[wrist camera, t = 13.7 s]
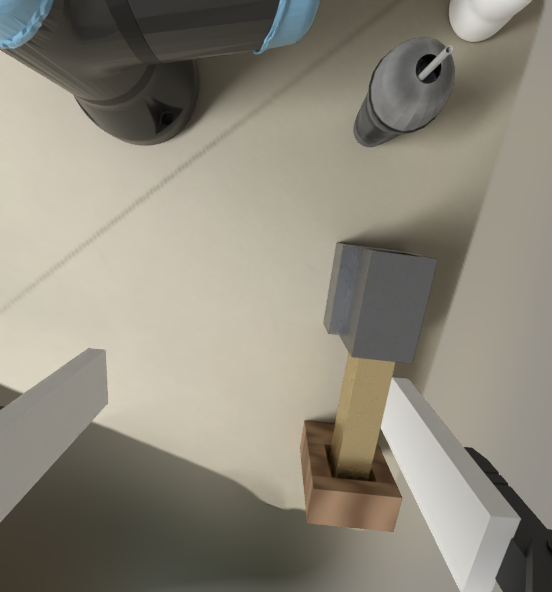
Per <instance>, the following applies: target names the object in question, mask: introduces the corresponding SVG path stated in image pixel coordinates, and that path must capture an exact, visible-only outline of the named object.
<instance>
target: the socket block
mask: <svg viewBox="0 0 552 592" xmlns="http://www.w3.org/2000/svg"><path fill="white" fill-rule="evenodd" d="M334 427H335V424H330V423H321V422H312V421H304V427H303V433H302V439H301V445H300V453H301V463H302V473H303V484H304V494H305V504H306V514H307V523H311V524H320V525H330V526H340V527H350V528H360V529H370V530H380V531H390V532H394V528H395V524H396V520H397V517H398V513H399V509H400V505H401V501H402V496H401V494H400V491H399V489H398V487H397V485H396V483H395V480H394V478H393V476H392V474H391V472H390V469H389V467H388V465H387V463H386V461H385V458H384V456H383V454H382V452H381V449H380V447H379V445H378V443H377V445H376V449H375V453H374V458H373V462H372V466H371V471H370V475H369V479H368V481H360V480H350V479H341V478H331V475H330V470H329V465H328V458H329V453H330V448H331V443H332V437H333V432H334Z"/></svg>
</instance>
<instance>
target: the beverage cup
mask: <svg viewBox="0 0 552 592" xmlns="http://www.w3.org/2000/svg"><path fill="white" fill-rule="evenodd" d="M452 50H453V47H452V46H451V45H449V46H447V47H445V46H444V45H443V44H442V43H440V42H439V41H437V40H434V39H431V38H427V37H423V38H413V39H411V40H408V41H406V42H404V43H402V44H399V45H398V46H397V47H395V48H394V49H393V50H392V51H390V52H389V53H388V54H387V55H386V56H385V57H384V58H382V59H381V60H380V62H379V63H378V65H377V67H376V68H375V70H374V72H373V74H372V77H371V81H370V84H369V90H368V93H367V95H366V98H365V100H364V102H363V104H362V106H361V108H360V110H359V112H358V115H357V117H356V120H355V123H354V135H355V138H356V140H357V141H358V143H360V144H361V145H363V146H366V147H374V146H376V145H379V144H382V143H384V142H386V141H388V140H390V139H392V138H394V137H396V136H398V135H400V134H404V133H410V132H414V131H417V130H419V129H422V128H424V127H425V126H426V125H428V124H429V123H430V122H431V121H432V120H434V119H435V117H436V116H437V114H438V113H439V112H440V111H441V109H442V108H443V106H444V105H445V103H446V102H447V100H448V99H449V96H450V93H451V90H452V87H453V84H454V74H455V67H454V62H453V58H452V56H451V53H452Z"/></svg>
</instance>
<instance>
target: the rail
mask: <svg viewBox="0 0 552 592" xmlns="http://www.w3.org/2000/svg"><path fill="white" fill-rule="evenodd" d="M394 367H395V362H390V361H381V360H372V359H363V358H354V357H351V355H350V354H349V352H348V358H347V363H346V368H345V374H344V379H343V384H342V390H341V395H340V400H339V405H338V411H337V416H336V421H335V427H334V432H333V437H332V443H331V448H330V453H329V458H328V465H329V470H330V475H331V478H341V479H350V480H360V481H368V479H369V475H370V471H371V466H372V462H373V458H374V453H375V449H376V445H377V440H378V436H379V432H380V427H381V423H382V419H383V414H384V410H385V406H386V401H387V397H388V393H389V388H390V384H391V380H392V375H393V371H394Z"/></svg>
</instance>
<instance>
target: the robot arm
mask: <svg viewBox="0 0 552 592" xmlns="http://www.w3.org/2000/svg"><path fill="white" fill-rule="evenodd" d="M319 3H320V0H0V50H2V51H3V52H5V53H6V54H8V55H10V56H11V57H13V58H15V59H16V60H18V61H20V62H21V63H23V64H25V65H26V66H28V67H29V68H31V69H33V70H34V71H36V72H38V73H39V74H41V75H43V76H44V77H46V78H48V79H49V80H51V81H52V82H54V83H56V84H57V85H59V86H61V87H62V88H64V89H65V90H67V91H69V92H70V93H72V94H73V95H74V97H75V99H76V100H77V102H78V104H79V105H80V107H81V108H82V110H83V111H84V112H85V114H86V115H87V116H88V117H89V118H90V119H91V120H92V121H93V122H94V123H95V124H96V125H97V126H98V127H100V128H101V129H102V130H104V131H105V132H107V133H108V134H110V135H112V136H114V137H116V138H118V139H120V140H122V141H124V142H127V143H131V144H135V145H154V144H158V143H161V142H164V141H166V140H168V139H170V138H172V137H173V136H175V135H176V134H177V133H178V132H179V131H181V129H182V128H183V127H184V126H185V125H186V124H187V122H188V120H189V119H190V117H191V115H192V113H193V111H194V108H195V105H196V102H197V97H198V89H199V79H198V70H197V65H196V62H195V59H199V58H206V57H214V56H221V55H229V54H236V53H243V52H251V51H252V52H253V53H254V54H261V53H263V52H264V51H266V50H267V49H272V48H277V47H282V46H287V45H292V44H295V43H297V42H299V41H300V40H301V39H302V38H303V36H304V35H305V34H306V33H307V32H308V31H309V29H310V27H311V26H312V24H313V21H314V19H315V16H316V13H317V10H318V7H319ZM107 404H108V390H107V370H106V350H101V349H91V348H88V349H87V350H85V351H84V352H82V353H81V354H80V355H78V356H77V357H75V358H74V359H72V360H71V361H70V362H68V363H67V364H65V365H64V366H62V367H61V368H60V369H58V370H57V371H55V372H54V373H53V374H51V375H50V376H48V377H47V378H45V379H44V380H43V381H41V382H40V383H38V384H37V385H35V386H34V387H33V388H31V389H30V390H28V391H27V392H25V393H24V394H23V395H21V396H20V397H18V398H17V399H15V400H14V401H13V402H11V403H10V404H8V405H7V406H5V407H3V406H0V522H1V521H2V520H3V519H4V517H5V516H6V515H7V514H8V513H9V512H10V511H11V510H12V509H13V508H14V506H15V505H16V504H17V503H18V502H19V501H20V500H21V499H22V498H23V496H24V495H25V494H26V493H27V492H28V491H29V490H30V489H31V488H32V487H33V485H34V484H35V483H36V482H37V481H38V480H39V479H40V478H41V477H42V476H43V474H44V473H45V472H46V471H47V470H48V469H49V468H50V467H51V465H52V464H53V463H54V462H55V461H56V460H57V459H58V458H59V457H60V456H61V454H62V453H63V452H64V451H65V450H66V449H67V448H68V447H69V446H70V445H71V443H72V442H73V441H74V440H75V439H76V438H77V437H78V436H79V435H80V433H81V432H82V431H83V430H84V429H85V428H86V427H87V426H88V425H89V423H90V422H91V421H92V420H93V419H94V418H95V417H96V416H97V415H98V414H99V412H100V411H101V410H102V409H103V408H104V407H105V406H106V405H107ZM381 430H382V432H383V434H384V436H385V438H386V440H387V442H388V444H389V446H390V448H391V450H392V452H393V454H394V456H395V458H396V460H397V463H398V465H399V467H400V469H401V471H402V473H403V475H404V477H405V479H406V481H407V483H408V485H409V487H410V489H411V491H412V493H413V495H414V497H415V499H416V502H417V504H418V505H419V507H420V510H421V511H422V513H423V516H424V518H425V520H426V522H427V524H428V526H429V528H430V530H431V532H432V534H433V536H434V538H435V540H436V543H437V545H438V547H439V549H440V551H441V553H442V555H443V557H444V559H445V561H446V563H447V565H448V567H449V569H450V571H451V573H452V575H453V578H454V580H455V581H456V584H457V586H458V587H459V590H460V592H491V591H492V589H493V587H494V584H495V581H497V583H498V584H499V586H500V588H501V589H502V591H503V592H552V530H549V529H547V528H546V527H545V526H544V525H543V524H542V523H541V521H540V520H539V519H538V518H537V517H536V515H535V514H534V513H533V512H532V511H531V510H530V508H528V506H527V505H526V504H525V503H524V502H523V500H522V499H521V498H520V497H519V496H518V495H517V494H516V492H515V491H514V490H513V489H512V488H511V487H509V486H508V483H507V482H506V481H505V479H504V478H503V477H502V476H501V475H499V473H498V471H497V470H496V469H495V468H494V467H493V466H492V464H491V463H490V462H489V461H488V460H487V459H486V458H485V457H483V456H482V455H481V454H479V453H478V452H477V451H475V450H474V449H473V448H469V447H463V446H462V445H461V444H460V442H459V441H458V440H457V439H456V437H455V436H454V435H453V434H452V432H451V431H450V430H449V429H448V427H447V426H446V425H445V424H444V422H443V421H442V420H441V419H440V418H439V416H438V415H437V414H436V412H435V411H434V410H433V409H432V407H430V405H429V404H428V403H427V401H426V400H425V399H424V397H423V396H422V395H421V394H420V393H419V391H418V390H417V389H416V388H415V386H414V385H413V384H412V383H411V381H410V380H409V379H406V378H396V377H392V380H391V384H390V388H389V393H388V397H387V402H386V406H385V410H384V415H383V419H382V424H381Z"/></svg>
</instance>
